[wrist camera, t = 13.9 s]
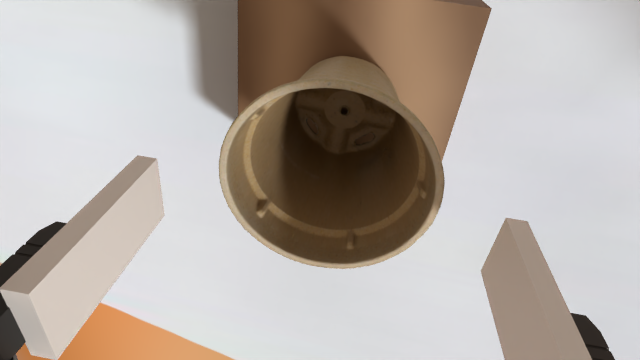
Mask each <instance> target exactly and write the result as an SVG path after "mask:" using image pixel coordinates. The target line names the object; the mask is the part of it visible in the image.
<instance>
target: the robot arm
mask: <svg viewBox="0 0 640 360" xmlns="http://www.w3.org/2000/svg"><path fill="white" fill-rule="evenodd" d="M163 217H164V208H163V200H162V192H161V185H160V177H159V170H158V162H157V159H156V158H150V157H144V156H137V157H135V158H134V159H133V160H132V161H131V162H130V163H129V164H128V165H127V166H126V167H125V168H124V169H123V170H122V171H121V172H120V173H119V174H118V175H117V176H116V177H115V178H114V179H113V180H112V181H110V182H109V183H108V184H107V185H106V186H105V187H104V188H103V189H102V190H101V191H100V192H99V193H98V194H97V195H96V196H95V197H94V198H93V199H92V200H91V201H90V202H89V203H88V204H87V205H86V206H84V207H83V208H82V209H81V210H80V211H79V212H78V213H77V214H76V215H75V216H74V217H73V218H72V219H71V220H70V221H69V222H68V223H62V222H55V223H53V224H51V225H49V226H47V227H45V228H43V229H41V230H39V231H38V232H37V233H36V234H35V235H34V236H33V237H31V238H30V239H29V240H28V241H27V242H26V244H25V245H23V246H22V247H20V248H19V249H18V250H17V251H16V252H15V255H12V256H10V257H9V258H8V259H7V260H6V261H5V262H4V263H3V264H2V265H1V266H0V360H18V359H17V356H16V353H17V351H18V350H19V349H20V348H21V347H22V346H23V344H24V343H26V345H27V347H28V350H29V351H30V354H31V355H34V356H39V357H44V358H49V359H54V360H57V359H58V358H59V357H60V356H61V354H62V353H63V351H64V350H65V349H66V347H67V346H68V345H69V343H70V342H71V341H72V339H73V338H74V337H75V335H76V334H77V332H78V331H79V330H80V328H81V327H82V326H83V324H84V323H85V322H86V320H87V319H88V318H89V316H90V315H91V314H92V312H93V311H94V310H95V308H96V307H97V305H98V304H99V303H100V302H101V300H102V299H103V298H104V296H105V295H106V293H107V292H108V291H109V289H110V288H111V287H112V285H113V284H114V283H115V281H116V280H117V279H118V277H119V276H120V275H121V273H122V272H123V271H124V269H125V268H126V267H127V265H128V264H129V262H130V261H131V260H132V258H133V257H134V256H135V254H136V253H137V252H138V250H139V249H140V248H141V246H142V245H143V244H144V242H145V241H146V240H147V238H148V237H149V235H150V234H151V233H152V231H153V230H154V229H155V227H156V226H157V225H158V223H159V222H160V221H161V219H162V218H163ZM481 274H482V277H483V281H484V285H485V288H486V292H487V296H488V299H489V303H490V307H491V310H492V314H493V318H494V322H495V325H496V329H497V333H498V336H499V340H500V344H501V347H502V351H503V355H504V358H505V360H615V359H614V357H613V355H612V353H611V352H610V351H609V347H608V345H607V343H606V342H605V340H604V338H603V336H602V334H601V332H600V331H599V330H598V329H597V327H596V326H595V325H594V324H593V323H592V322H591V321H590V320H589V319H588V318H587V317H586V316H585V315H579V314H573V313H570V311H569V309H568V307H567V305H566V303H565V301H564V299H563V296H562V294H561V292H560V290H559V288H558V286H557V284H556V282H555V279H554V277H553V275H552V273H551V271H550V269H549V267H548V264H547V262H546V260H545V258H544V256H543V254H542V252H541V250H540V247H539V245H538V243H537V241H536V239H535V237H534V235H533V232H532V230H531V228H530V226H529V224H528V222H527V221H522V220H516V219H510V218H506V219H505V221H504V223H503V225H502V227H501V229H500V231H499V234H498V236H497V238H496V240H495V242H494V244H493V246H492V248H491V250H490V253H489V255H488V257H487V259H486V261H485V263H484V265H483V267H482V270H481Z"/></svg>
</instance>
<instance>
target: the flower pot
mask: <svg viewBox="0 0 640 360" xmlns="http://www.w3.org/2000/svg"><path fill="white" fill-rule="evenodd" d="M342 107H346V108H347V109H348V112H347V114H343V113H341V109H342ZM308 118H310V119H311V121H312V122H313V123H314V124H316V125H315V126H316V128H317V130H318V132H317V133H315V132H314V131H313V130H312V129H311V128H310V126H309V125H308V123H307V119H308ZM369 133H372V134H373V135H374V138H373V139H372V140H371V141H369V142H366V143H362V144H356V142H355V141H356V140H357V139H359V138H361V137H363V136H365V135H367V134H369ZM219 177H220V184H221V187H222V191H223V194H224V197H225V199H226V202H227V204H228V207H229V208H230V209H231V211H232V213H233V214H234V216H235V217H236V219H237V221H238V222H239V223H240V224H241V225H242V226H243V228H244V229H245V230H247V232H249V233H250V234H251V235H252V236H253V237H255V238H256V239H257V240H258V241H259V242H261V243H262V244H263V245H265V246H266V247H268V248H269V249H271V250H273V251H275V252H276V253H278V254H281V255H282V256H284V257H286V258H289V259H292V260H294V261H298V262H301V263H304V264H307V265H311V266H317V267H324V268H336V269H337V268H340V269H346V268H356V267H363V266H370V265H373V264H376V263H380V262H382V261H385V260H387V259H389V258H391V257H394V256H395V255H397V254H399V253H401V252H403V251H404V250H406V249H407V248H409V247H410V246H412V245H413V244H414V243H415V242H416V241H417V240H418V239H419V238H420V237H421V236H422V235H423V234H424V233H425V232H426V231H427V230H428V229H429V226H431V225H432V223H433V221H434V219H435V217H436V215H437V213H438V211H439V208H440V205H441V202H442V198H443V192H444V171H443V166H442V162H441V158H440V155H439V152H438V149H437V147H436V144H435V142H434V140H433V138H432V136H431V135H430V133H429V131H428V130H427V129H426V127H425V126H424V125H423V123H422V122H421V121H420V120H419V119H418V118H417V116H416V115H415V114H414V113H413V112H412V111H410V110H409V109H408V108H407V107H406V106H405V105H404V104H402V103H401V102H400V100H399V98H398V95H397V93H396V90H395V87H394V85H393V84H392V82H391V80H390V79H389V78H388V76H387V75H386V74H385V73H384V72H383V71H382V70H381V69H380V68H379V67H377V66H376V65H374V64H373V63H370V62H368V61H365V60H362V59H359V58H354V57H348V56H337V57H332V58H328V59H325V60H323V61H320V62H318V63H317V64H315V65H314V66H312V67H311V68H310V69H309V70H308V71H306V73H305V74H304V75H303V76H302V77H301V78H300V79H298V80H297V81H294V82H290V83H287V84H283V85H281V86H278V87H276V88H274V89H272V90H270V91H268V92H266V93H264V94H262V95H261V96H259V97H258V98H257V99H255V100H254V101H253V102H251V103H250V104H249V105H248V106H247V107H246V108H245V109H244V110H243V111H242V112H241V113H240V114H239V115H238V117H237V118H236V119H235V121H234V122H233V123H232V125H231V126H230V128H229V130H228V132H227V134H226V136H225V139H224V141H223V145H222V147H221V153H220V159H219Z"/></svg>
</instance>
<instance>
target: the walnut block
mask: <svg viewBox="0 0 640 360" xmlns="http://www.w3.org/2000/svg"><path fill="white" fill-rule="evenodd" d="M490 12H491V8H490V7H489V6H488V5H487V4H486V3H484V2H483V1H482V0H238V115H239V114H240V113H241V112H242V111H243V110H244V109H245V108H246V107H247V106H248V105H249V104H250V103H251V102H253V101H254V100H255V99H257V98H258V97H259V96H261V95H262V94H264V93H266V92H268V91H270V90H272V89H274V88H276V87H278V86H281V85H283V84H287V83H290V82H294V81H297V80H298V79H300V78H301V77H302V76H303V75H304V74H305V73H306V71H308V70H309V69H310V68H311V67H312V66H314V65H315V64H317V63H318V62H320V61H323V60H325V59H328V58H332V57H337V56H348V57H354V58H359V59H362V60H365V61H368V62H370V63H373V64H374V65H376V66H377V67H379V68H380V69H381V70H382V71H383V72H384V73H385V74H386V75H387V76H388V78H389V79H390V80H391V82H392V84H393V85H394V87H395V90H396V93H397V95H398V98H399V100H400V102H401V103H402V104H404V105H405V106H406V107H407V108H408V109H409V110H410V111H412V112H413V113H414V114H415V115H416V116H417V118H418V119H419V120H420V121H421V122H422V123H423V125H424V126H425V127H426V129H427V130H428V131H429V133H430V135H431V136H432V138H433V140H434V142H435V144H436V147H437V149H438V152H439V155H440V158H441V162H442V159H443V156H444V153H445V150H446V147H447V144H448V141H449V138H450V135H451V131H452V128H453V125H454V122H455V119H456V116H457V113H458V110H459V107H460V104H461V101H462V98H463V95H464V92H465V89H466V85H467V82H468V79H469V76H470V73H471V70H472V67H473V64H474V61H475V58H476V55H477V52H478V49H479V46H480V43H481V39H482V36H483V33H484V30H485V27H486V24H487V21H488V18H489V15H490ZM347 112H348V109H347V108H346V107H342V109H341V113H343V114H347ZM307 123H308V125H309V126H310V128H311V129H312V130H313V131H314V132H315V133H317V132H318V130H317V128H316V126H315V125H316V124H314V123H313V122H312V121H311V119H310V118H308V119H307ZM373 138H374V135H373V134H372V133H369V134H367V135H365V136H363V137H361V138H359V139H357V140H356V141H355V142H356V144H362V143H366V142H369V141H371V140H372V139H373Z"/></svg>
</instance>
